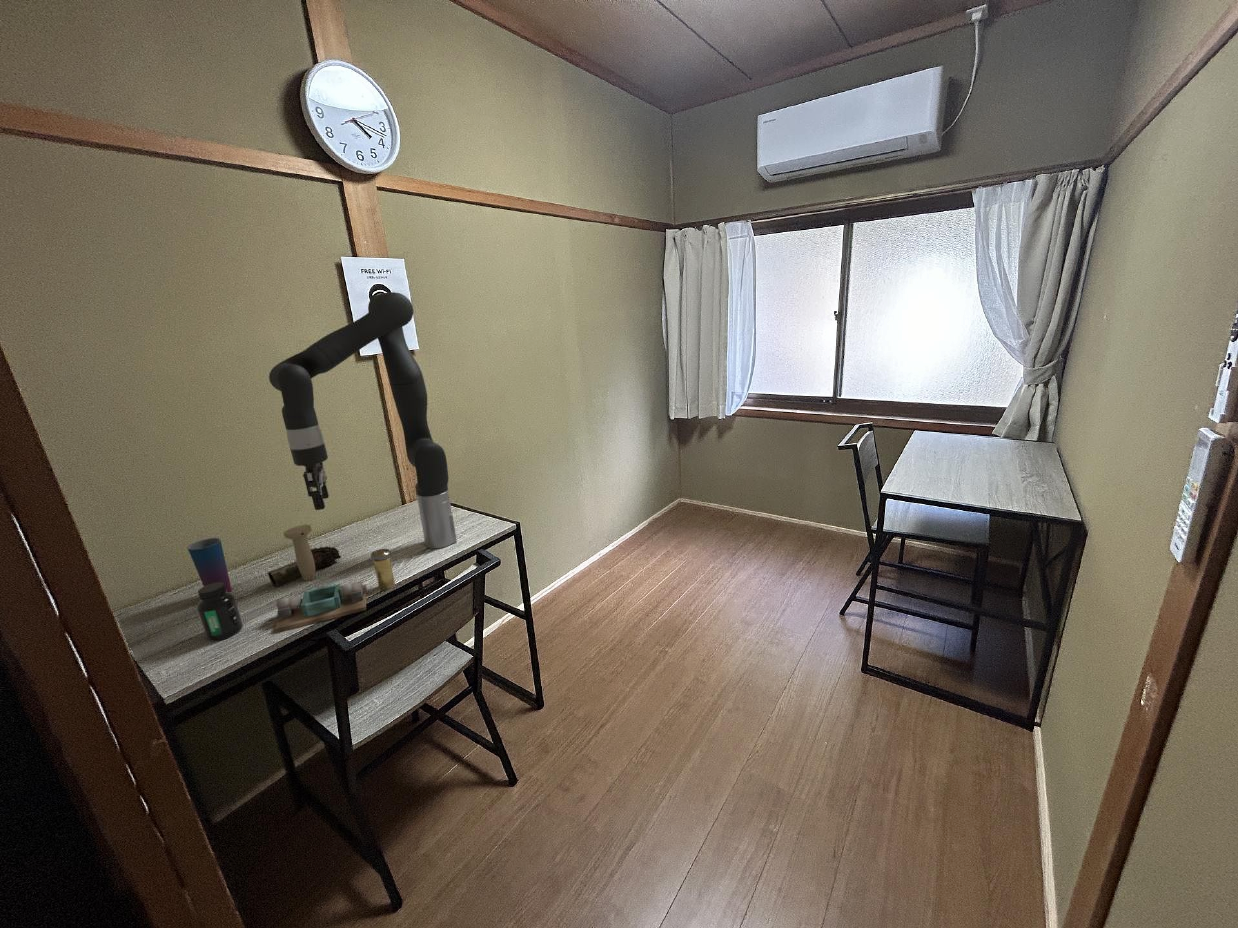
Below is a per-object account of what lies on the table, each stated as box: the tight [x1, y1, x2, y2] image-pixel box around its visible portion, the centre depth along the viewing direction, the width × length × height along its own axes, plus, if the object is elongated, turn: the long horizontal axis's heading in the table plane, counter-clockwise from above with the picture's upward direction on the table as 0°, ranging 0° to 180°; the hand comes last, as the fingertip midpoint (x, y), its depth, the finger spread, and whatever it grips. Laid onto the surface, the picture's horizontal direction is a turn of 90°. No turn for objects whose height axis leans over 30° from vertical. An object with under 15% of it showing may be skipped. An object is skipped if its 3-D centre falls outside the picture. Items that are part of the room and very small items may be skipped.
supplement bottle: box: [196, 582, 244, 642], centre depth 116 cm, size 7×7×12 cm
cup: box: [187, 537, 232, 594], centre depth 133 cm, size 7×7×15 cm
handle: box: [283, 524, 317, 582], centre depth 139 cm, size 5×6×15 cm
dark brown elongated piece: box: [267, 546, 342, 588], centre depth 144 cm, size 18×7×6 cm, turn 141°
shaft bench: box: [274, 580, 368, 633], centre depth 125 cm, size 19×12×5 cm, turn 115°
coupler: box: [370, 548, 396, 591], centre depth 134 cm, size 5×5×10 cm
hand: (322, 503), depth 131 cm, fingers open, 8 cm apart
